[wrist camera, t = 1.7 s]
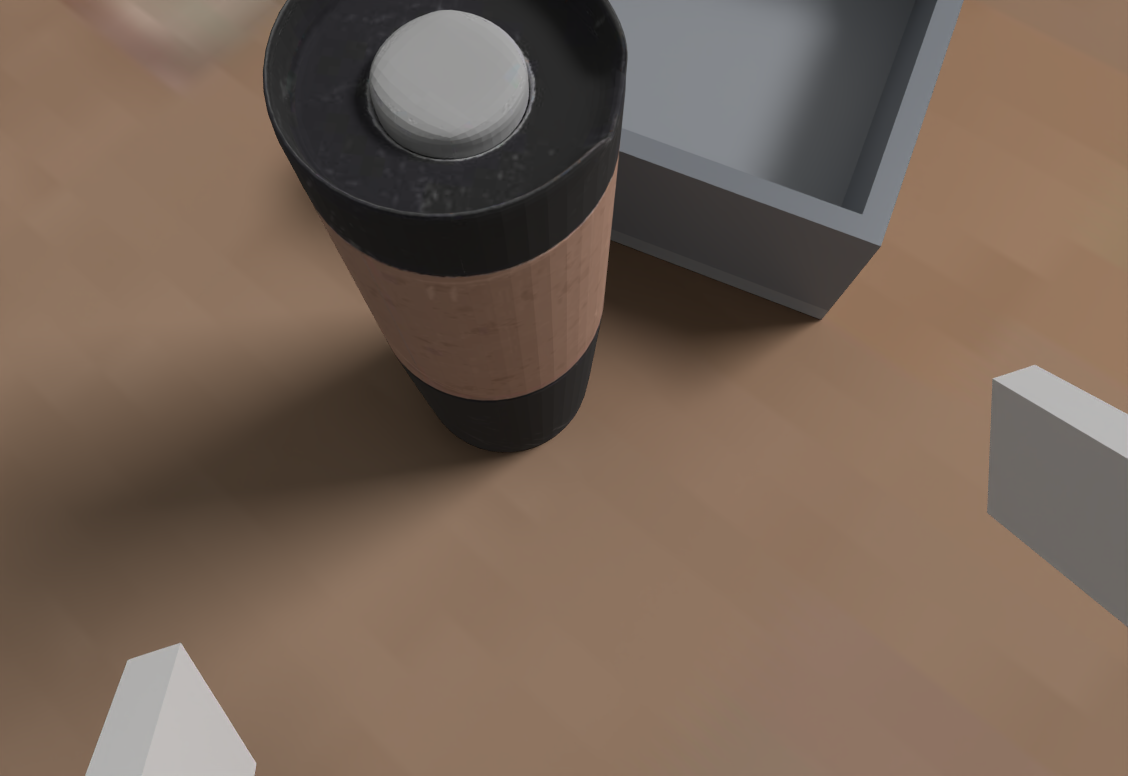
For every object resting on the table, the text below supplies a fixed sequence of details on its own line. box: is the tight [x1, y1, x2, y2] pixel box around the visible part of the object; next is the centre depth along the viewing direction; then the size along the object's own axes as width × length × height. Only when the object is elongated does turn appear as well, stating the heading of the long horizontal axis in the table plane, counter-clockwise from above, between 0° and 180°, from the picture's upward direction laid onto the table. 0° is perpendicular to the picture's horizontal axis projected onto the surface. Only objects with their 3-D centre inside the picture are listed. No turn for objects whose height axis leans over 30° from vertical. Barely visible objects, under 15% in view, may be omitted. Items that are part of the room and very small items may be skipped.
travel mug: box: [263, 0, 628, 452], centre depth 26 cm, size 8×8×20 cm
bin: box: [608, 0, 964, 320], centre depth 37 cm, size 20×20×7 cm
